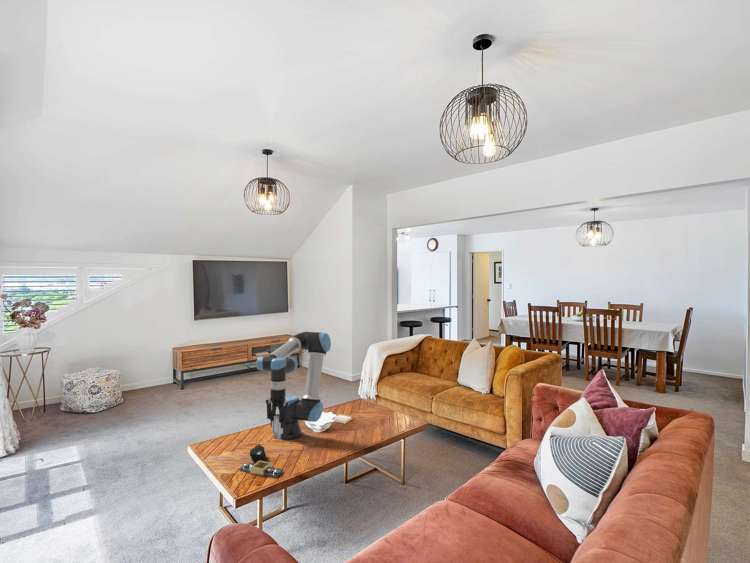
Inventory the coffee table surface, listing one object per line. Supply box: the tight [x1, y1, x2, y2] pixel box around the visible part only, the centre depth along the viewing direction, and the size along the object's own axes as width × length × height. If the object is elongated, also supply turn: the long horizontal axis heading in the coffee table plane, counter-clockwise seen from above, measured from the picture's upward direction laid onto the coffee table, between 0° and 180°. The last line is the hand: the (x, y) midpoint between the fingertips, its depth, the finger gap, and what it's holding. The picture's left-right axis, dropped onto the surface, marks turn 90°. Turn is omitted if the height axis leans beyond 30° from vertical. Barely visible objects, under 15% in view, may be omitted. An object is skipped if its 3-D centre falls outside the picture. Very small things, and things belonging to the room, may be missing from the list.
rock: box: [249, 444, 267, 463], centre depth 210 cm, size 10×9×6 cm
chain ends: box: [239, 460, 284, 479], centre depth 196 cm, size 8×22×3 cm, turn 71°
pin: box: [273, 413, 281, 440], centre depth 202 cm, size 4×4×12 cm
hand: (277, 433), depth 202 cm, fingers closed on pin, 4 cm apart
